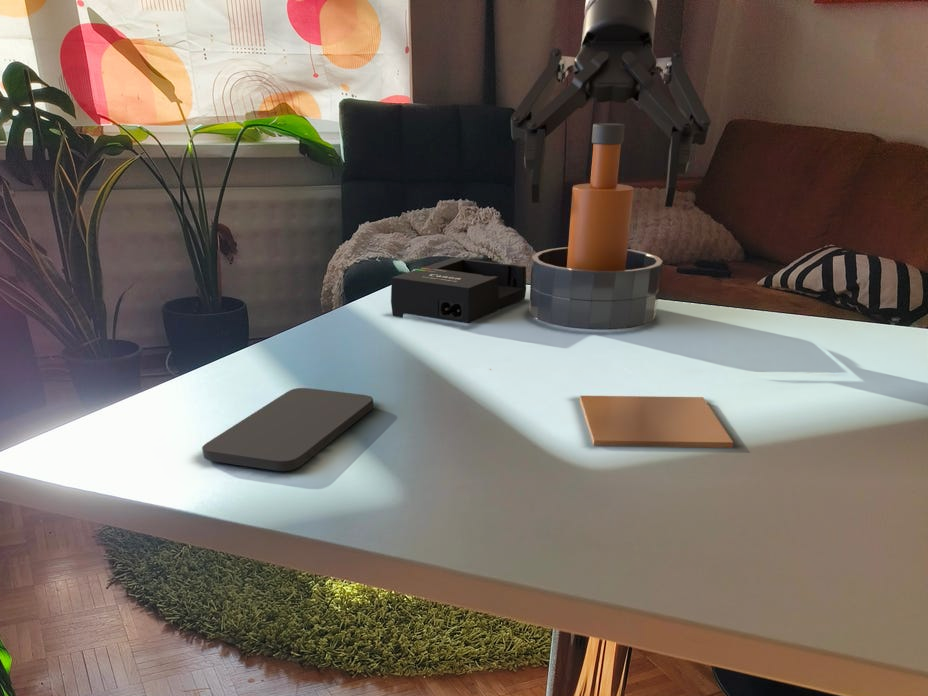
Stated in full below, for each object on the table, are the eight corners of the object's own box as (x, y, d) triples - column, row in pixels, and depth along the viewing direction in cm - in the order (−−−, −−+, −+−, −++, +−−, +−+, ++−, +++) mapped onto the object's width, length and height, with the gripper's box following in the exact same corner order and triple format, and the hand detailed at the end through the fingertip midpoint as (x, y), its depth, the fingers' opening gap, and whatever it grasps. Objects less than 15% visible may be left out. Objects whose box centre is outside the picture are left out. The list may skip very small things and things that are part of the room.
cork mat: (702, 403, 72) (703, 396, 72) (732, 448, 64) (733, 442, 64) (579, 401, 73) (579, 395, 72) (593, 447, 64) (594, 440, 64)
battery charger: (468, 329, 91) (469, 288, 89) (390, 316, 95) (389, 277, 93) (525, 303, 100) (527, 265, 98) (452, 293, 104) (452, 257, 102)
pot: (643, 304, 100) (650, 247, 97) (664, 335, 89) (673, 272, 86) (526, 303, 101) (529, 246, 97) (533, 334, 90) (536, 271, 86)
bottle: (616, 306, 97) (635, 122, 88) (624, 320, 92) (645, 126, 83) (561, 305, 97) (574, 121, 88) (566, 319, 92) (580, 126, 83)
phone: (378, 396, 71) (292, 463, 59) (379, 406, 71) (293, 475, 59) (294, 386, 73) (194, 449, 61) (295, 396, 73) (196, 461, 61)
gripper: (733, 50, 96) (721, 224, 92) (504, 48, 100) (483, 216, 96) (748, -13, 89) (735, 172, 85) (500, -13, 92) (477, 166, 88)
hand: (602, 196), depth 90 cm, fingers open, 13 cm apart
